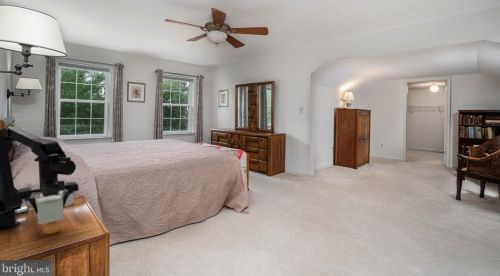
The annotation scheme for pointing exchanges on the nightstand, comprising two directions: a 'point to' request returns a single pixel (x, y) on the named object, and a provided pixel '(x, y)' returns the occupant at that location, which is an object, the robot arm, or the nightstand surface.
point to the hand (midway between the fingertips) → (50, 210)
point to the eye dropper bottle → (68, 199)
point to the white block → (50, 209)
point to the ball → (51, 227)
